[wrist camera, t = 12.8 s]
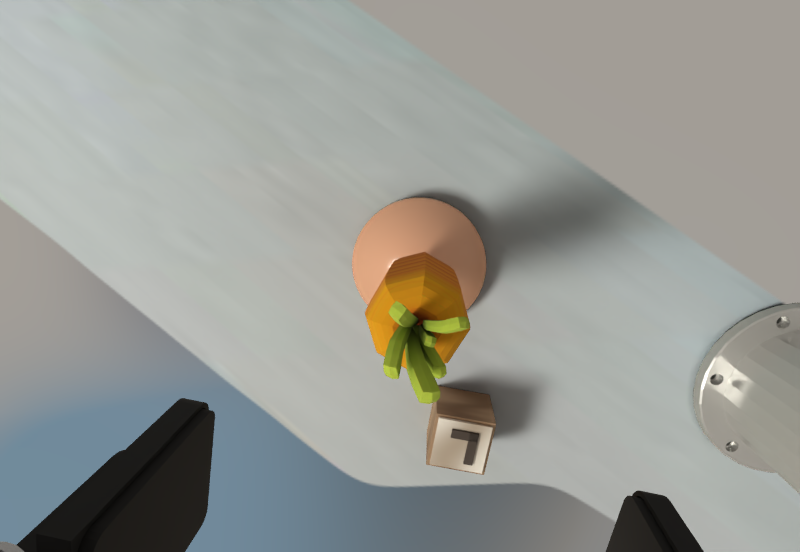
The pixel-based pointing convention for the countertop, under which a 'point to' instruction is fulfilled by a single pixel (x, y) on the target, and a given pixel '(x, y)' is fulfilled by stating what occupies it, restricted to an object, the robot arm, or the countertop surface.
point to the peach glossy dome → (419, 244)
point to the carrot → (418, 321)
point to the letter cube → (460, 430)
